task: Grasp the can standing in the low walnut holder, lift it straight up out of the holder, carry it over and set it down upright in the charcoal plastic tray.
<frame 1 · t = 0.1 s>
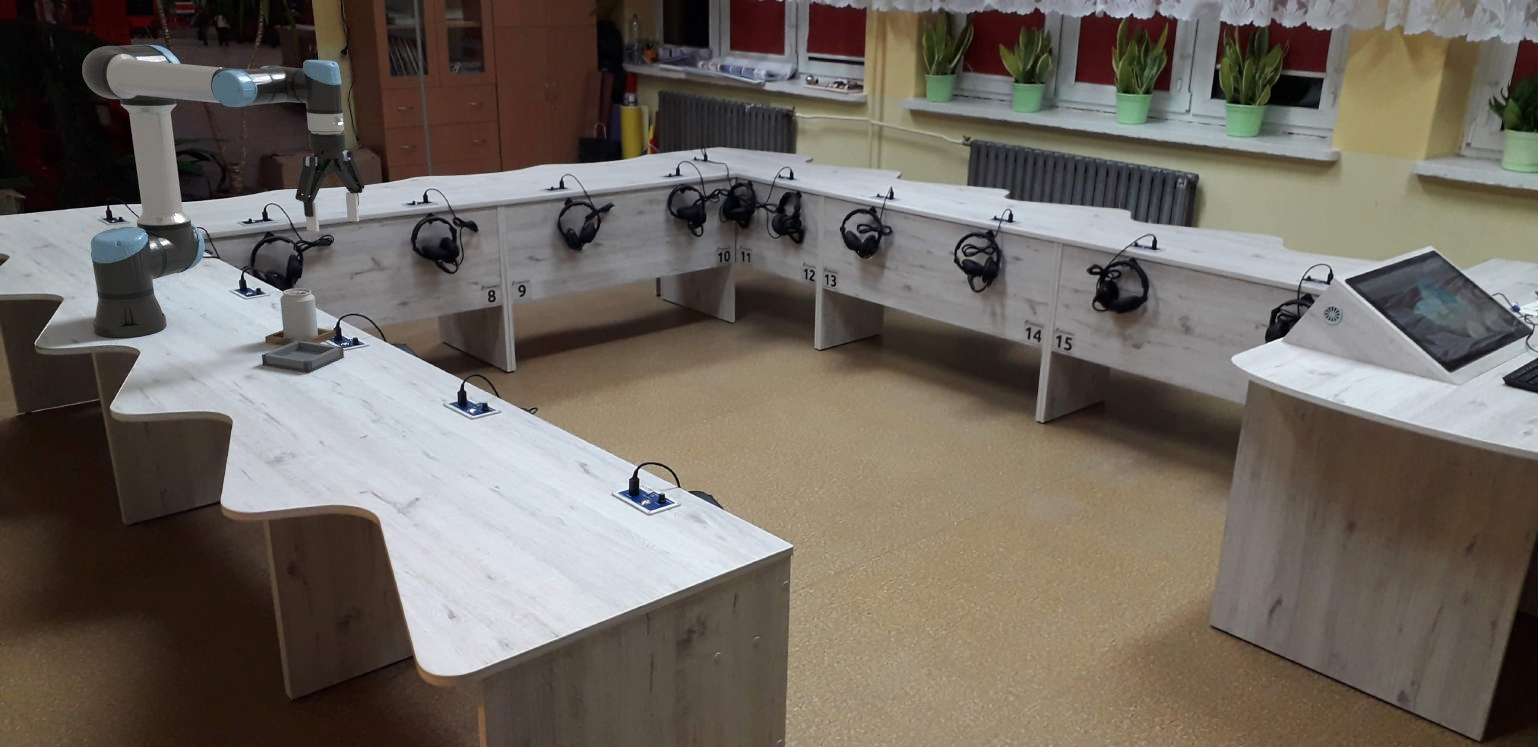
hand: (333, 225, 256), 28 cm above the table, fingers open, 13 cm apart
can: (301, 340, 265), resting in holder
tray: (304, 361, 250), on the table
holder: (301, 339, 265), on the table
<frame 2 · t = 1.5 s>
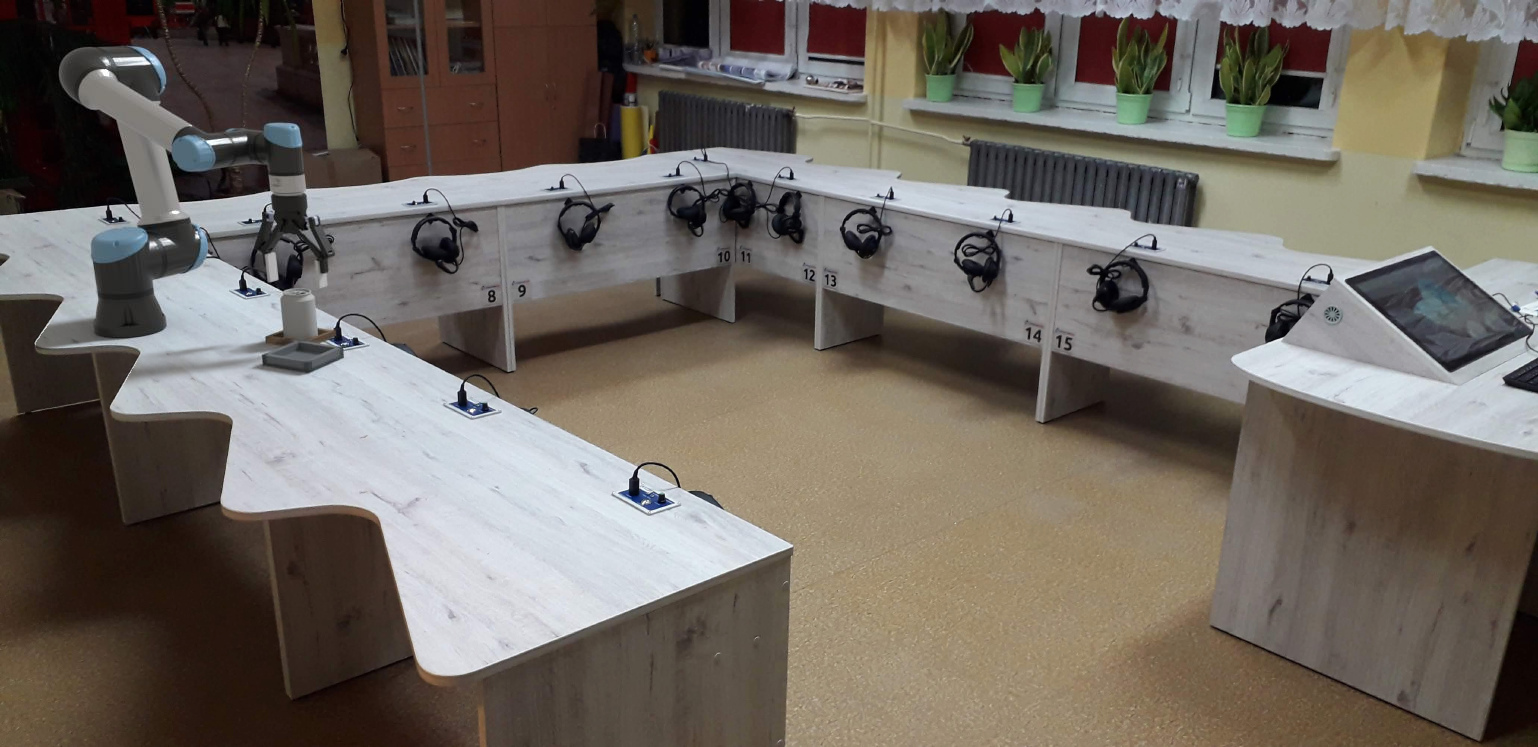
hand: (297, 284, 260), 14 cm above the table, fingers open, 13 cm apart
nothing on the table moved.
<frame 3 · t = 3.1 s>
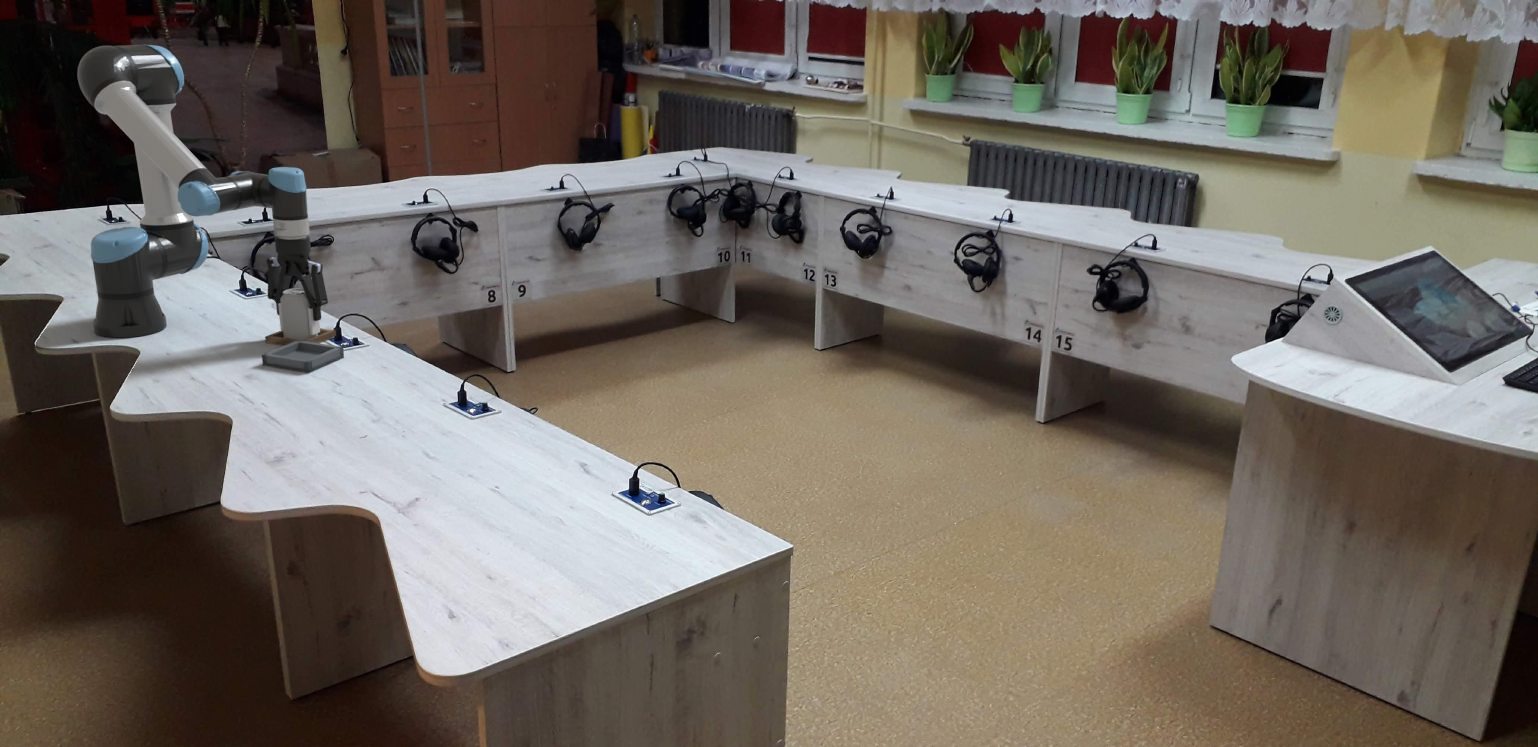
hand: (300, 330, 264), 2 cm above the table, fingers closed on can, 7 cm apart
can: (301, 340, 265), resting in holder, touching gripper
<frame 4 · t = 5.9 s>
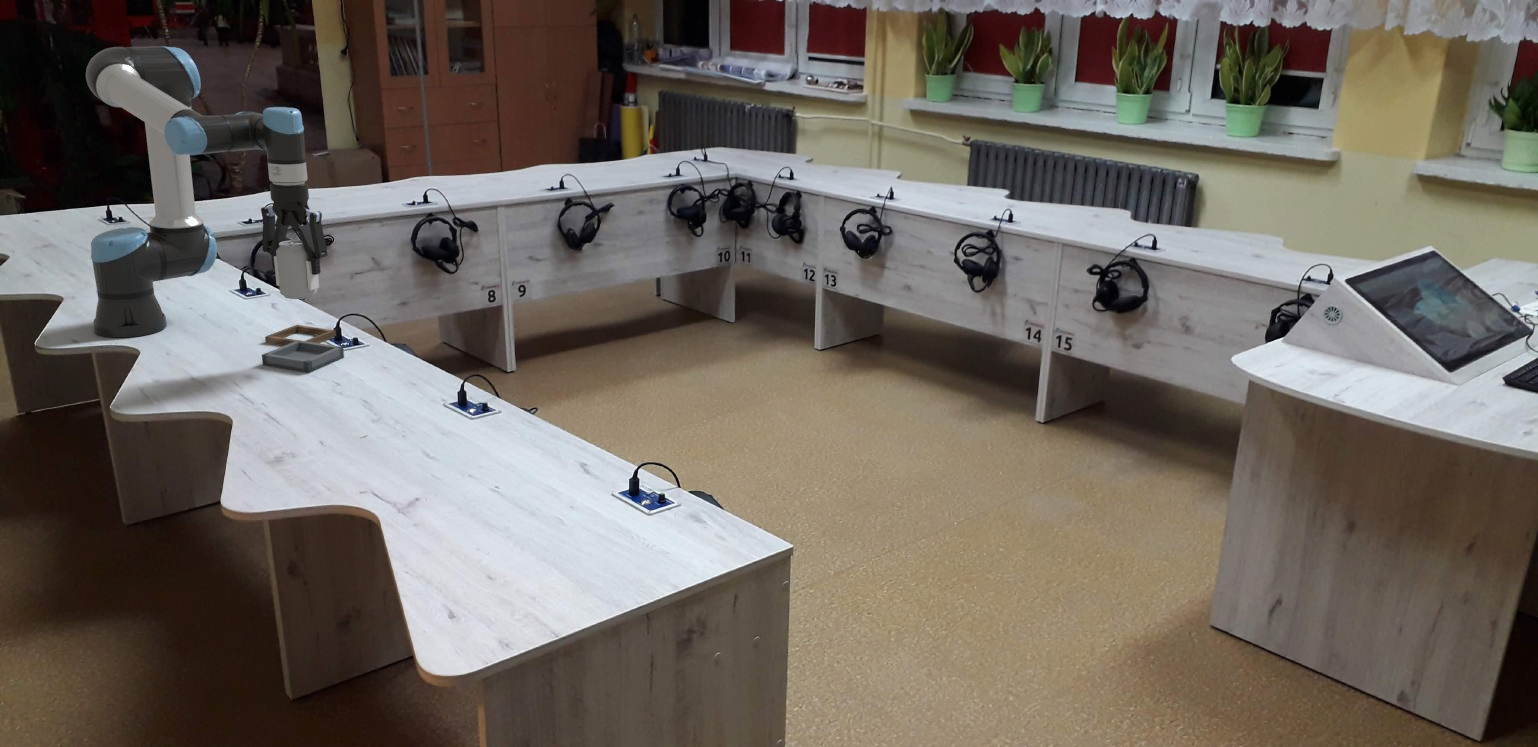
hand: (297, 286, 245), 17 cm above the table, fingers closed on can, 7 cm apart
can: (299, 296, 245), point 15 cm above the table, touching gripper
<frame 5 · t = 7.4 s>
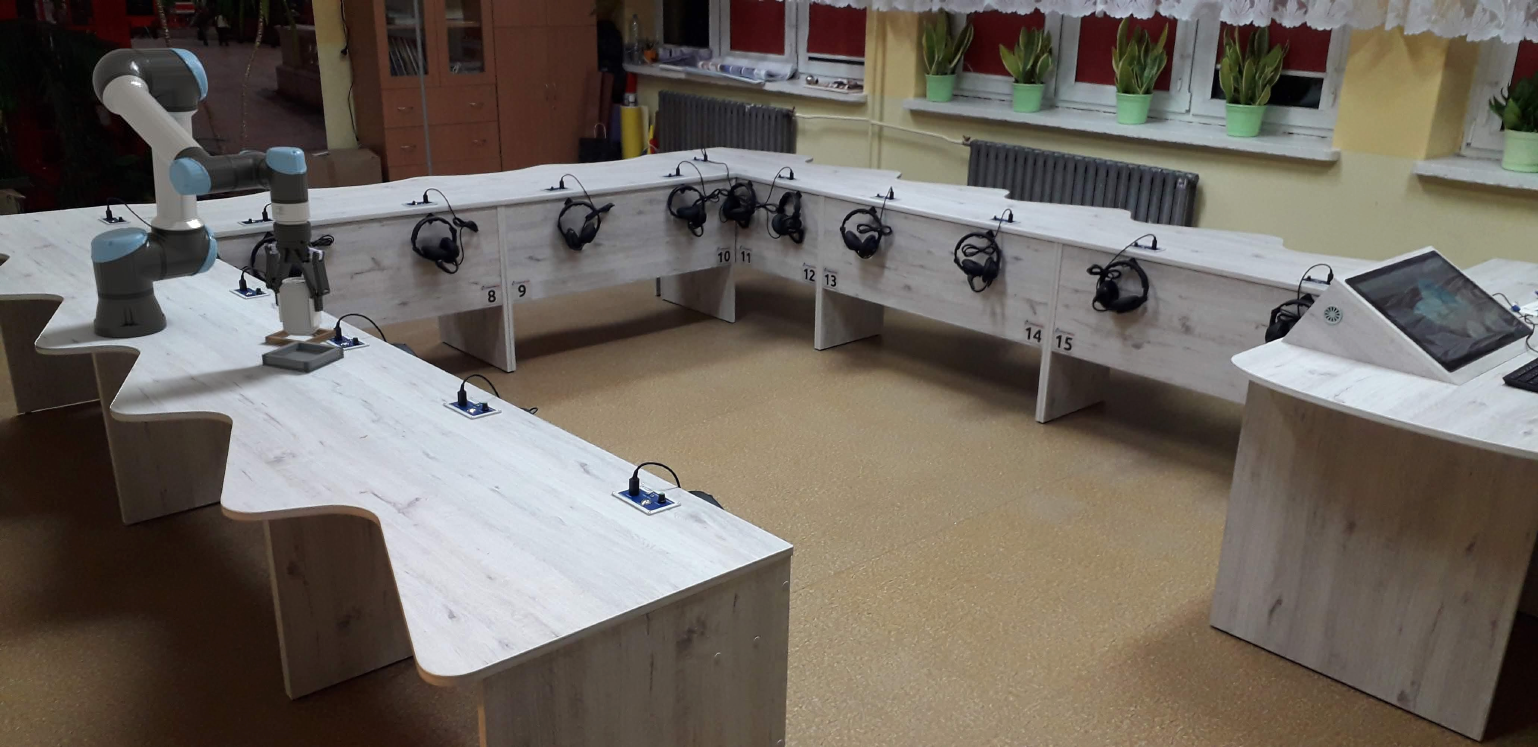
hand: (300, 322, 247), 9 cm above the table, fingers closed on can, 7 cm apart
can: (302, 333, 248), point 7 cm above the table, touching gripper
when the fingers open (5 cm above the table, at t = 8.7 s): can drops 2 cm, resting on tray.
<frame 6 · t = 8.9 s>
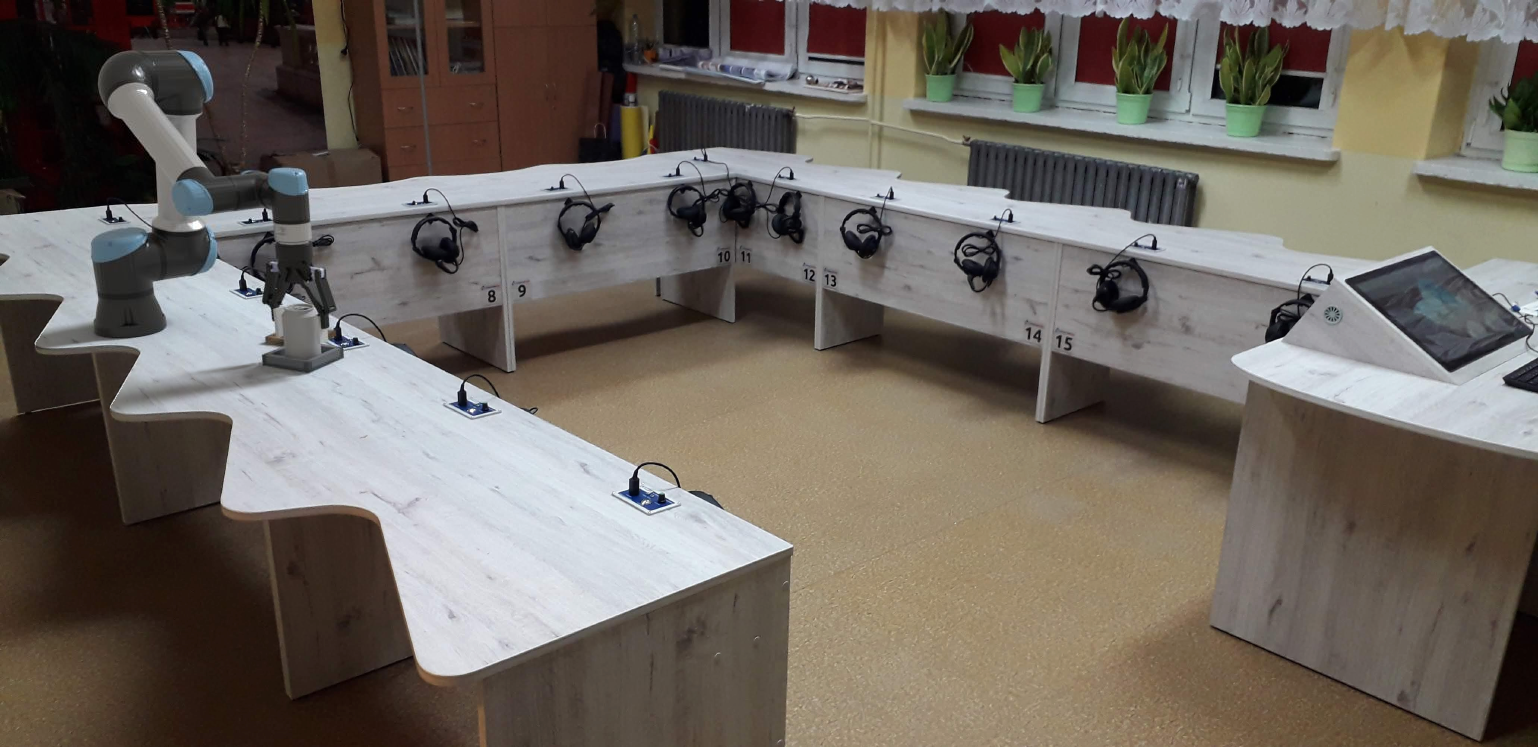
hand: (302, 339, 248), 5 cm above the table, fingers open, 10 cm apart
can: (303, 358, 250), point 1 cm above the table, touching tray
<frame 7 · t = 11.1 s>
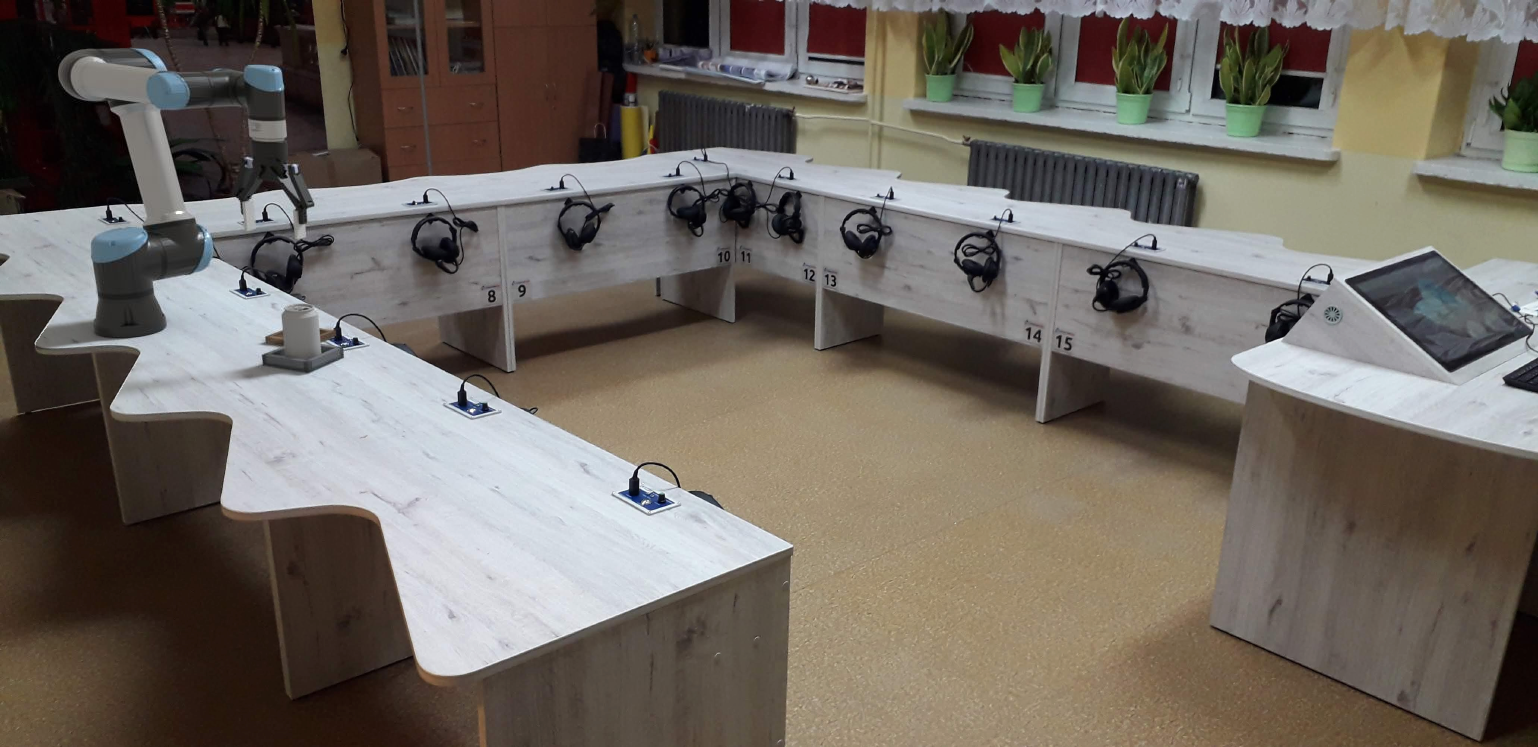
hand: (275, 234, 251), 26 cm above the table, fingers open, 13 cm apart
nothing on the table moved.
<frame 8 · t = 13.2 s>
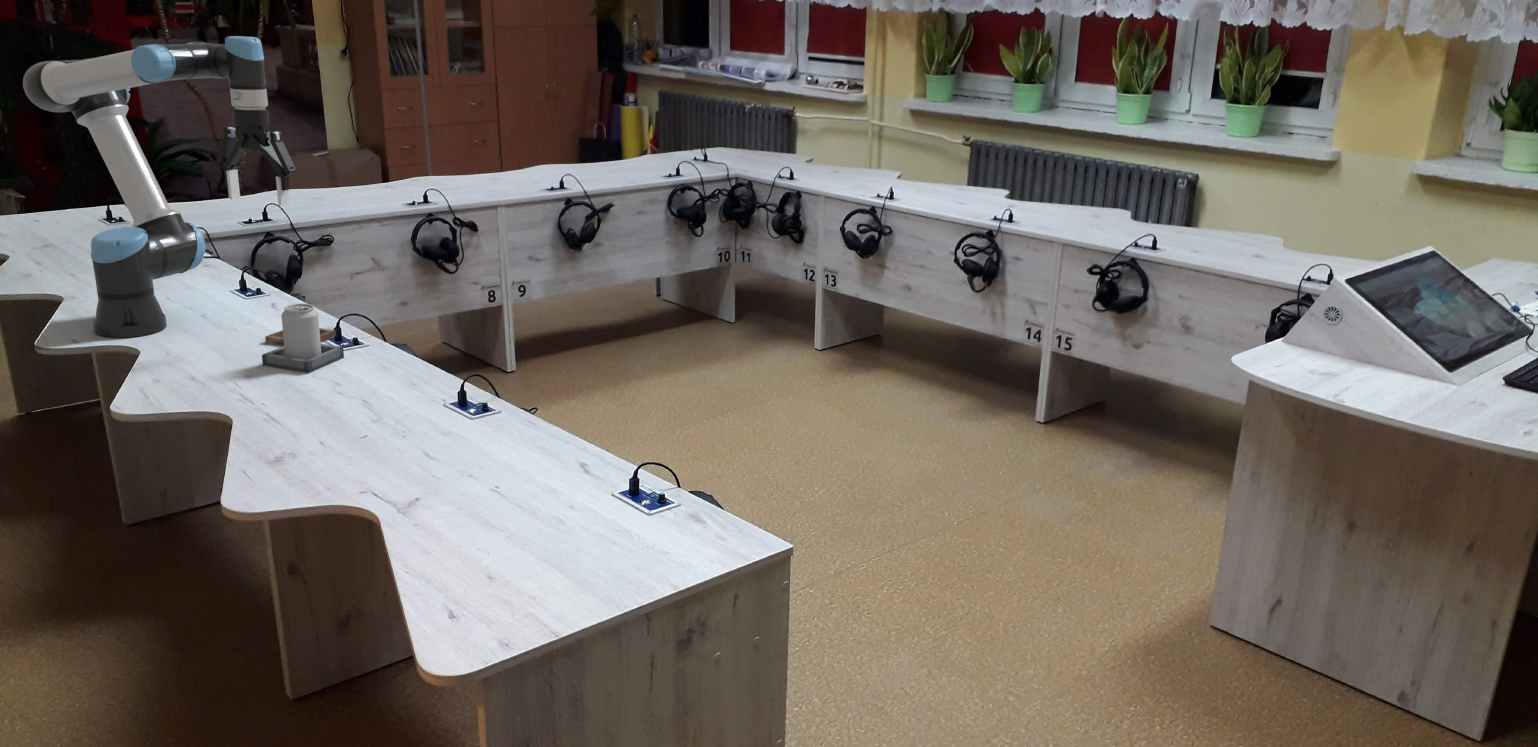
hand: (259, 201, 259), 32 cm above the table, fingers open, 13 cm apart
nothing on the table moved.
at the end: can inside the target area on the tray (0.1 cm from its centre), point 0.6 cm above the tray's base; can tilted 0°; the gripper is holding nothing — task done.
